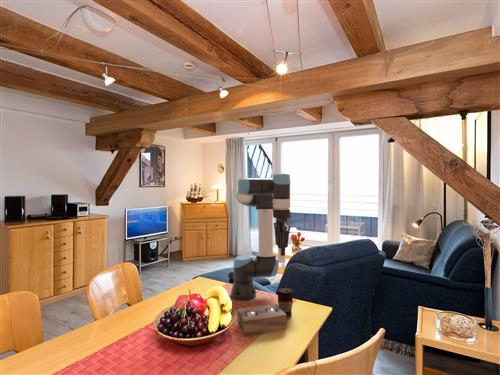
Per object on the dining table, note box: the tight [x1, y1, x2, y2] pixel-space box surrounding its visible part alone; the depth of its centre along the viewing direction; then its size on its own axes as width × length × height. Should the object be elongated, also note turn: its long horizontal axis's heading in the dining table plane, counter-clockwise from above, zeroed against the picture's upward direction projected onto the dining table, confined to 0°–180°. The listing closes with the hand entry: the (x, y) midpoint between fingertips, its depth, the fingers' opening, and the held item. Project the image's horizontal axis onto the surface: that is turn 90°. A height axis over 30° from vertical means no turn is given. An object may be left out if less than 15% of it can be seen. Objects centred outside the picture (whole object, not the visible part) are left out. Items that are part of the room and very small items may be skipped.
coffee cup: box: [276, 287, 295, 319], centre depth 141 cm, size 9×8×13 cm
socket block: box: [237, 303, 288, 338], centre depth 130 cm, size 12×20×7 cm, turn 107°
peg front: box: [247, 311, 256, 317], centre depth 128 cm, size 4×4×6 cm
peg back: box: [267, 308, 276, 313], centre depth 131 cm, size 4×4×6 cm
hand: (281, 262), depth 122 cm, fingers closed
